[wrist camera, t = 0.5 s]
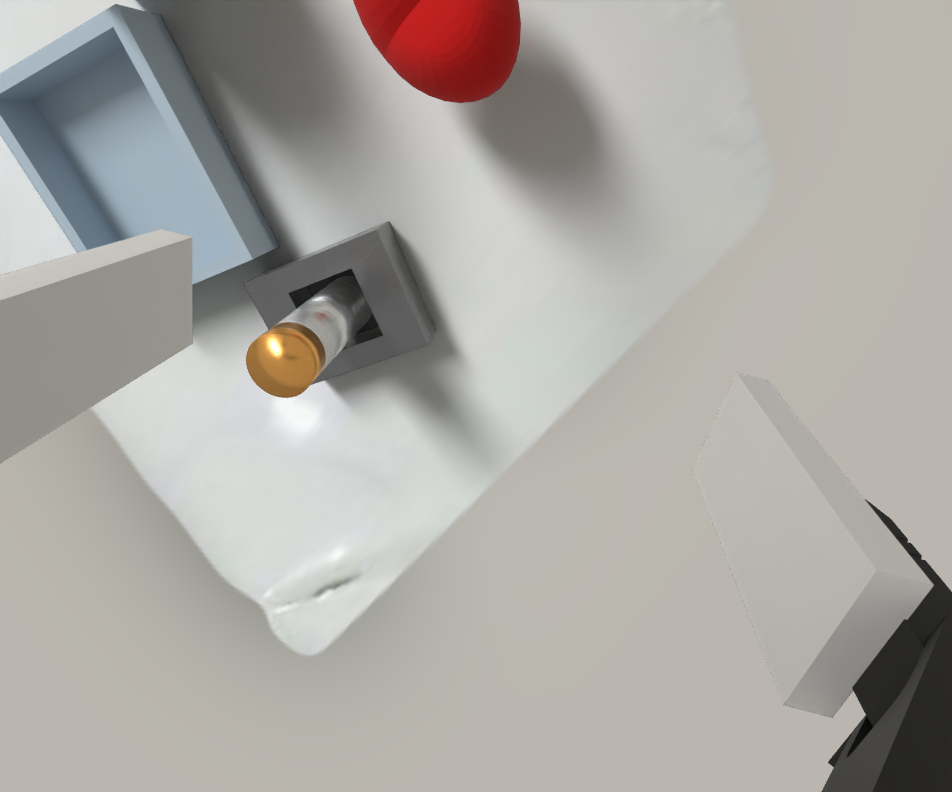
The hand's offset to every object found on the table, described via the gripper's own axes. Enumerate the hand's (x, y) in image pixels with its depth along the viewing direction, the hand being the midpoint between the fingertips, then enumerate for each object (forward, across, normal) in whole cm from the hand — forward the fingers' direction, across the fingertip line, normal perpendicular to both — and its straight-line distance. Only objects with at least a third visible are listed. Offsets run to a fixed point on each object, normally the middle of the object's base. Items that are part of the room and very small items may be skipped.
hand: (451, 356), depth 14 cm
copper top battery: (+26, -10, -9) cm, 29 cm away
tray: (+26, -24, -3) cm, 35 cm away
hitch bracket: (+26, -10, -9) cm, 29 cm away
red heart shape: (+26, -6, +9) cm, 28 cm away
